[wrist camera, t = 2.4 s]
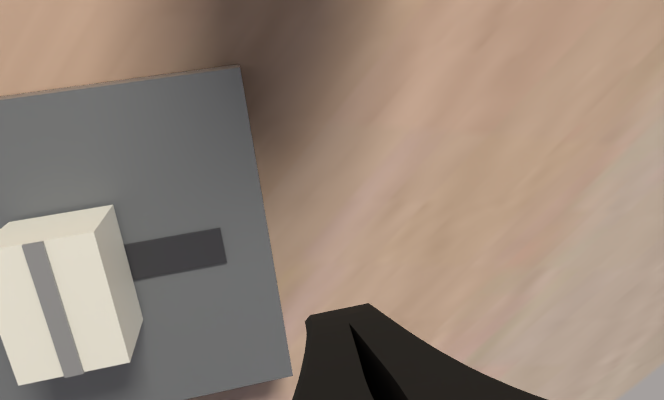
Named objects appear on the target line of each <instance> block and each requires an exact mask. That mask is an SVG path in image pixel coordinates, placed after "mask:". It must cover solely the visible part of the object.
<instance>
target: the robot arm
mask: <svg viewBox="0 0 664 400" xmlns="http://www.w3.org/2000/svg"><path fill="white" fill-rule="evenodd" d="M305 324H306V330H307V338H306V347H305V354H304V358H303V363H302V368H301V372H300V376H299V380H298V383H297V386H296V390H295V393H294V396H293V399H292V400H547V399H544V398H541V397H538V396H535V395H533V394H530V393H527V392H525V391H522V390H519V389H517V388H514V387H512V386H510V385H507V384H505V383H503V382H501V381H498V380H496V379H494V378H491V377H489V376H487V375H485V374H482V373H480V372H478V371H476V370H474V369H472V368H470V367H468V366H466V365H464V364H463V363H461V362H459V361H457V360H455V359H453V358H452V357H450V356H448V355H446V354H444V353H442V352H441V351H439V350H437V349H436V348H434V347H432V346H431V345H429V344H427V343H426V342H424V341H423V340H421V339H419V338H418V337H416V336H415V335H413V334H412V333H410V332H409V331H407V330H406V329H404V328H403V327H401V326H400V325H399V324H397V323H396V322H394V321H393V320H391V319H390V318H389V317H387V316H386V315H384V314H383V313H382V312H380V311H379V310H377V309H376V308H375V307H373V306H372V305H370V304H369V303H367V304H363V305H358V306H353V307H348V308H343V309H338V310H333V311H328V312H324V313H319V314H314V315H310V316H309V317H308V318H307V320H306V321H305Z"/></svg>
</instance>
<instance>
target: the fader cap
mask: <svg viewBox="0 0 664 400" xmlns="http://www.w3.org/2000/svg"><path fill="white" fill-rule="evenodd" d="M142 322H143V317H142V313H141V309H140V305H139V301H138V298H137V294H136V290H135V286H134V282H133V279H132V275H131V271H130V267H129V263H128V260H127V256H126V252H125V248H124V244H123V240H122V237H121V233H120V229H119V225H118V221H117V218H116V214H115V210H114V206H113V205H108V206H102V207H96V208H90V209H84V210H78V211H72V212H66V213H60V214H54V215H48V216H42V217H36V218H30V219H24V220H18V221H12V222H8V223H7V224H6V225H5V226H3V227H2V228H1V229H0V336H1V339H2V342H3V345H4V347H5V350H6V353H7V356H8V358H9V361H10V364H11V367H12V370H13V372H14V375H15V378H16V381H17V383H18V386H19V385H24V384H29V383H34V382H39V381H43V380H48V379H53V378H58V377H63V376H64V378H67V377H72V376H77V375H81V374H84V372H87V371H91V370H96V369H101V368H106V367H111V366H115V365H120V364H125V363H130V361H131V358H132V354H133V351H134V348H135V345H136V341H137V338H138V335H139V331H140V328H141V325H142Z"/></svg>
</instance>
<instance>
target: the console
mask: <svg viewBox="0 0 664 400" xmlns="http://www.w3.org/2000/svg"><path fill="white" fill-rule="evenodd" d="M108 205H113V206H114V210H115V214H116V218H117V221H118V225H119V229H120V233H121V237H122V240H123V244H124V248H125V252H126V256H127V260H128V263H129V267H130V271H131V275H132V279H133V282H134V286H135V290H136V294H137V298H138V301H139V305H140V309H141V313H142V317H143V322H142V325H141V328H140V331H139V335H138V338H137V341H136V345H135V348H134V351H133V354H132V358H131V361H130V363H125V364H120V365H115V366H111V367H106V368H101V369H96V370H91V371H87V372H84V374H81V375H77V376H72V377H67V378H64V376H63V377H58V378H53V379H48V380H43V381H39V382H34V383H29V384H24V385H19V386H18V383H17V381H16V378H15V375H14V372H13V370H12V367H11V364H10V361H9V358H8V356H7V353H6V350H5V347H4V345H3V342H2V339H1V336H0V400H186V399H190V398H195V397H199V396H204V395H208V394H213V393H217V392H222V391H226V390H231V389H235V388H240V387H244V386H249V385H253V384H258V383H262V382H267V381H272V380H276V379H281V378H285V377H290V376H293V374H292V368H291V362H290V356H289V350H288V345H287V339H286V333H285V327H284V321H283V315H282V309H281V304H280V298H279V292H278V286H277V280H276V274H275V269H274V263H273V257H272V251H271V245H270V239H269V234H268V228H267V222H266V216H265V210H264V204H263V198H262V193H261V187H260V181H259V175H258V169H257V163H256V158H255V152H254V146H253V140H252V134H251V128H250V123H249V117H248V111H247V105H246V99H245V93H244V87H243V82H242V76H241V70H240V66H239V64H236V65H229V66H221V67H214V68H207V69H199V70H192V71H185V72H177V73H170V74H162V75H155V76H148V77H140V78H133V79H125V80H118V81H111V82H103V83H96V84H89V85H81V86H74V87H66V88H59V89H52V90H44V91H37V92H29V93H22V94H15V95H7V96H0V229H1V228H2V227H3V226H5V225H6V224H7V223H8V222H12V221H18V220H24V219H30V218H36V217H42V216H48V215H54V214H60V213H66V212H72V211H78V210H84V209H90V208H96V207H102V206H108Z"/></svg>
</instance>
